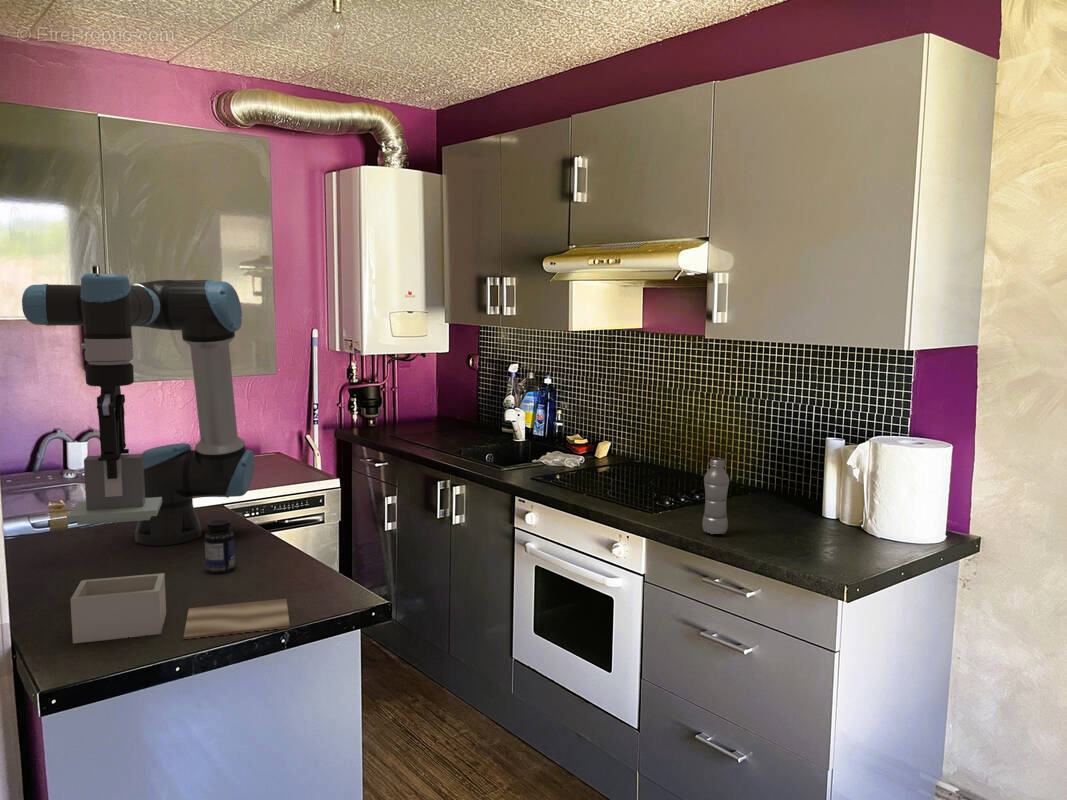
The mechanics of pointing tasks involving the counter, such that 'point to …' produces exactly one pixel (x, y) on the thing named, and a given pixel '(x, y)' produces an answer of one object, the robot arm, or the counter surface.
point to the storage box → (118, 608)
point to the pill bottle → (219, 547)
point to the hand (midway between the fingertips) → (115, 492)
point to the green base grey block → (115, 507)
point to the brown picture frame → (236, 618)
